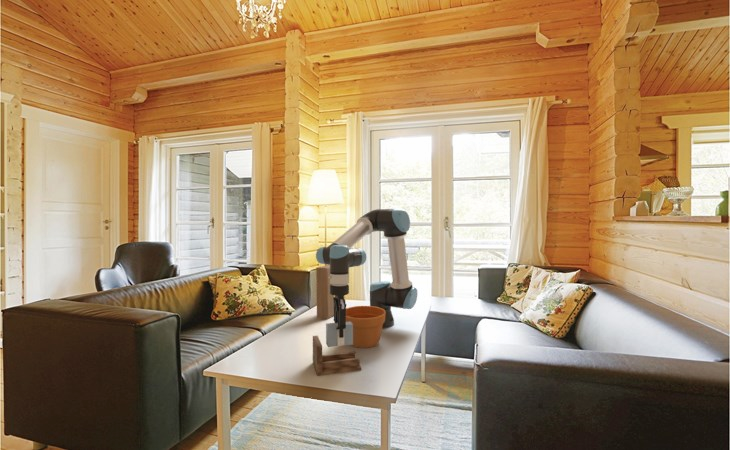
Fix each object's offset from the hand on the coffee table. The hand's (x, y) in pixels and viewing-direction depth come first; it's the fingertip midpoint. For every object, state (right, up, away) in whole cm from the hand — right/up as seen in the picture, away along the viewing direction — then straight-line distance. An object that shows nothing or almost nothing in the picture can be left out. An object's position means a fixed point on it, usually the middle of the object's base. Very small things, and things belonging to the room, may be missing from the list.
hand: (339, 342), depth 135 cm
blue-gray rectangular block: (0, 0, 0) cm, 0 cm away
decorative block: (-12, -8, +72) cm, 73 cm away
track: (-1, -9, 0) cm, 9 cm away
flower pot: (+9, -9, +26) cm, 29 cm away
